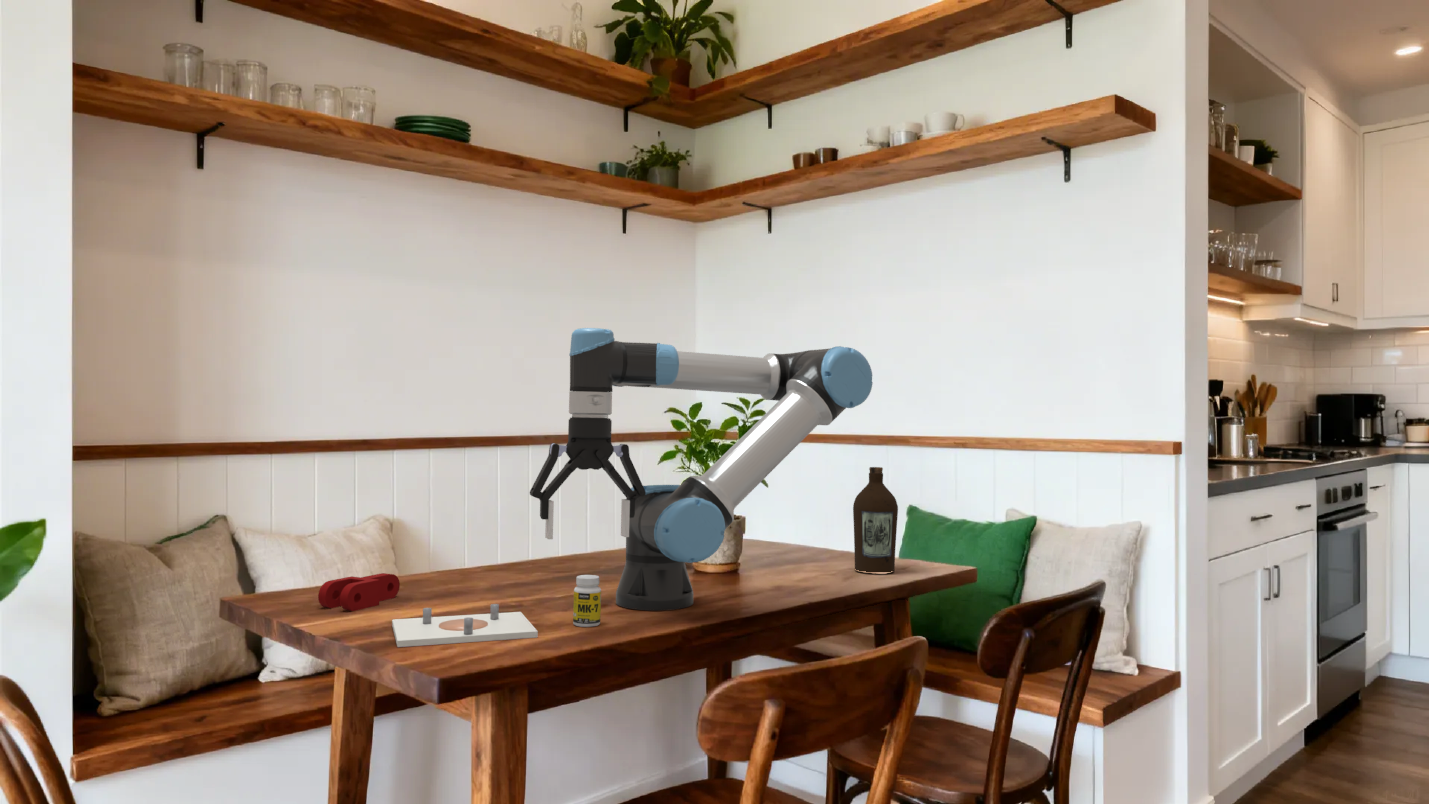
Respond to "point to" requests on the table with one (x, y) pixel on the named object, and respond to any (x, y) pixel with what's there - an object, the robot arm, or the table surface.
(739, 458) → the robot arm
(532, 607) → the table surface
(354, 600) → the mechanical linkage
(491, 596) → the table surface
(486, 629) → the pin plate
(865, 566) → the olive oil
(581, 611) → the supplement bottle
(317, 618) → the table surface
